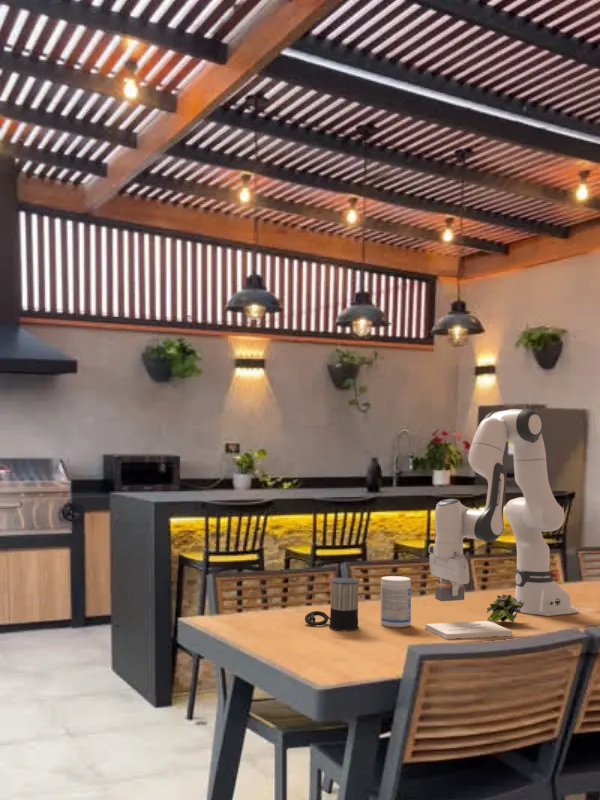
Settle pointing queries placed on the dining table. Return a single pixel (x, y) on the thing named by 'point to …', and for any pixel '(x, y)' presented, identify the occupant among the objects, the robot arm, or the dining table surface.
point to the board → (468, 629)
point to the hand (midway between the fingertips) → (449, 593)
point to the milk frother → (340, 606)
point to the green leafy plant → (504, 608)
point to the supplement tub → (395, 601)
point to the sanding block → (448, 592)
